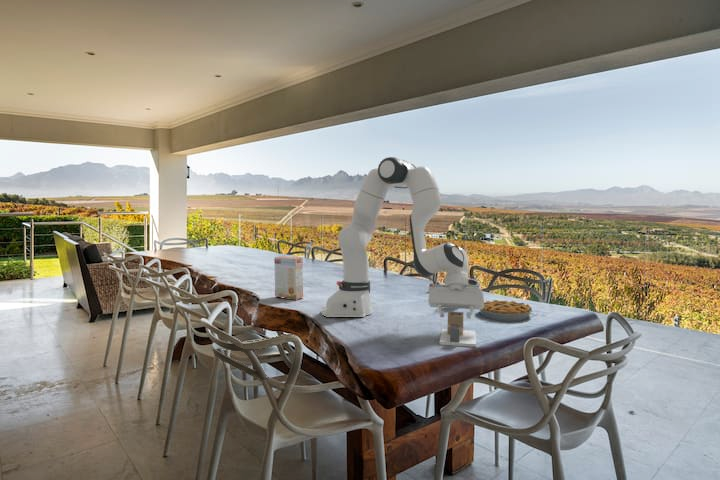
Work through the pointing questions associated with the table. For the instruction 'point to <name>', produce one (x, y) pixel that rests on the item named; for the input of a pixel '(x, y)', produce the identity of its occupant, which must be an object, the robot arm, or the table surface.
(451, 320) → the wooden pencil holder
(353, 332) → the table surface
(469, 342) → the base plate
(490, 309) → the pie
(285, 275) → the cracker box
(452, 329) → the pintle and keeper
